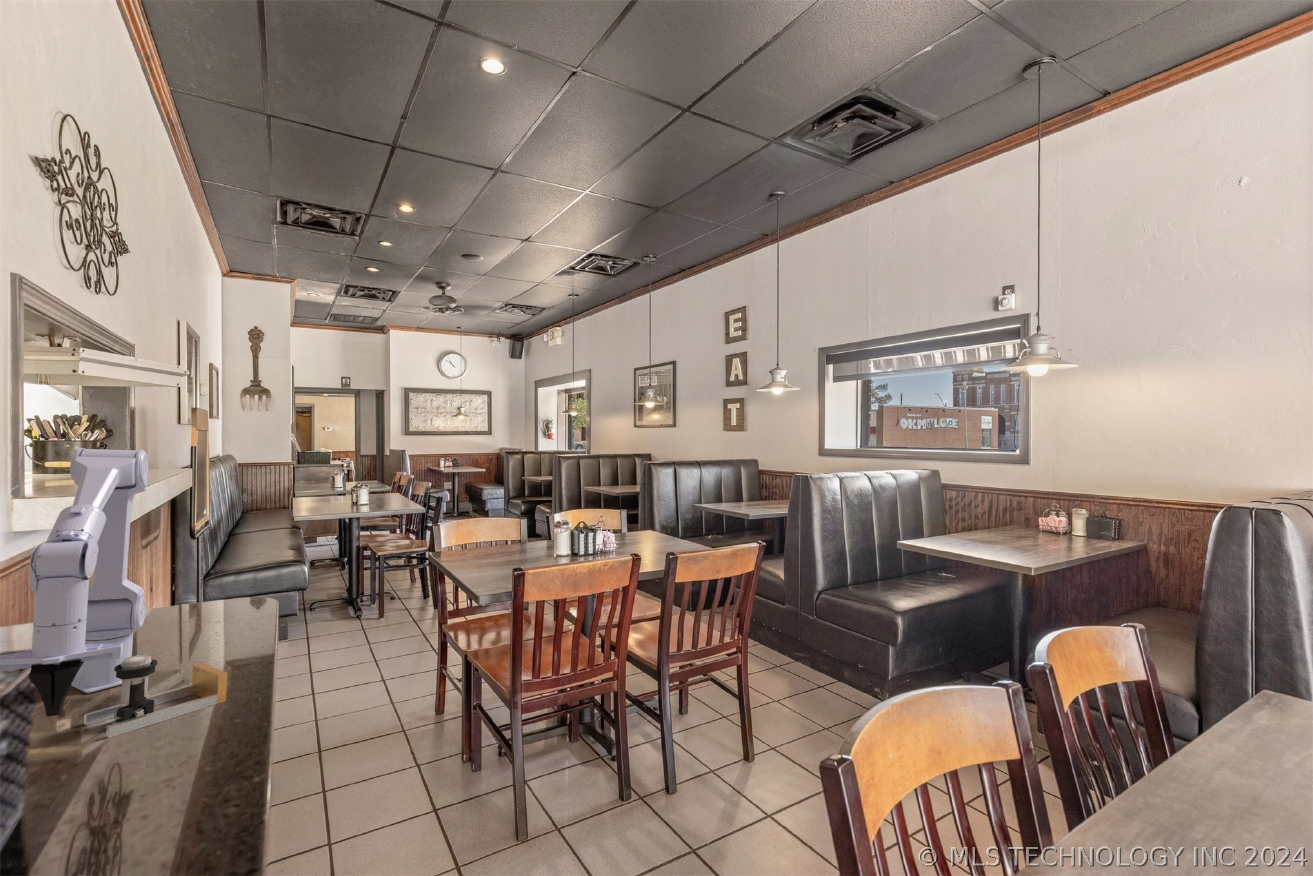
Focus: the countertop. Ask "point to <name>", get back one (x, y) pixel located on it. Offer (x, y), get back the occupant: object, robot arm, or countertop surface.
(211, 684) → the rail
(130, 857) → the countertop surface
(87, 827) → the countertop surface
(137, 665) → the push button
